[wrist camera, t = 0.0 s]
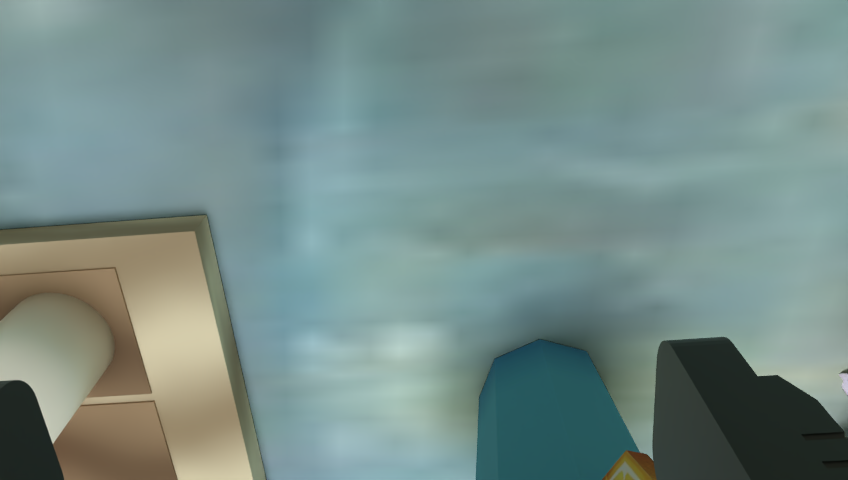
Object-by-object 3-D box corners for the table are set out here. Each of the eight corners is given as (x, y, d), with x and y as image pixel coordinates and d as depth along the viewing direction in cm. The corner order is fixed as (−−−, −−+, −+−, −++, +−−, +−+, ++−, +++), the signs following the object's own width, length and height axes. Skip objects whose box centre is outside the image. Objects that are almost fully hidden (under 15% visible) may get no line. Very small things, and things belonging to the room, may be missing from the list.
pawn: (-7, 296, 26) (-168, 436, 19) (98, 289, 26) (-26, 428, 19) (27, 384, 28) (-110, 543, 21) (126, 378, 28) (21, 536, 21)
